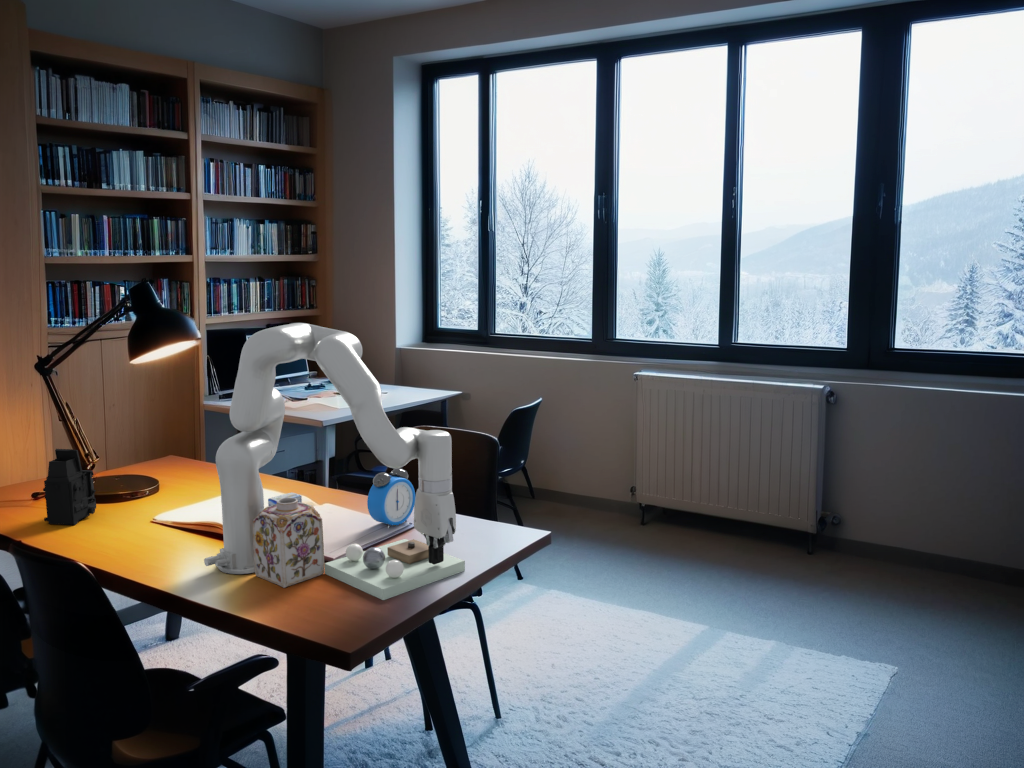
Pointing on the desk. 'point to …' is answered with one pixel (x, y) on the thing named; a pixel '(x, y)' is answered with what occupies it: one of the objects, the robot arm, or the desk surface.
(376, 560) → the ball
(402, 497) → the alarm clock
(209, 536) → the desk surface
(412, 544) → the lid
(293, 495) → the medicine box
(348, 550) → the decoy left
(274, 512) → the decorative jar
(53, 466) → the camera
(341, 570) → the board
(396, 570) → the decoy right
